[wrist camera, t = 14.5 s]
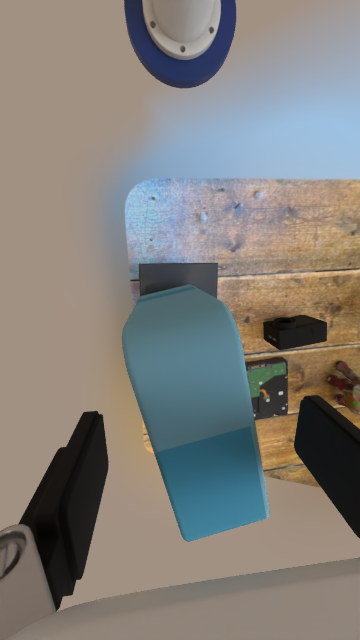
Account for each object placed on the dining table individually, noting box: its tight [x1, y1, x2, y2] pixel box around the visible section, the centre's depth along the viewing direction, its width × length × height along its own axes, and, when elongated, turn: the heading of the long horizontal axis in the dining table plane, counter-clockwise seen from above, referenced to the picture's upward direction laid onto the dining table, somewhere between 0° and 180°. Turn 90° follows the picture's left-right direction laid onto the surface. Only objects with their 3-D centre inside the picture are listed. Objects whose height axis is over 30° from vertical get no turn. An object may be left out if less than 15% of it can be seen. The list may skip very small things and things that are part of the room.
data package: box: [122, 284, 269, 542], centre depth 15 cm, size 12×4×12 cm, turn 13°
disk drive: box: [245, 357, 288, 420], centre depth 53 cm, size 10×3×15 cm
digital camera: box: [263, 315, 327, 350], centre depth 48 cm, size 10×5×7 cm, turn 99°
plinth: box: [139, 263, 218, 299], centre depth 34 cm, size 16×7×27 cm, turn 1°
